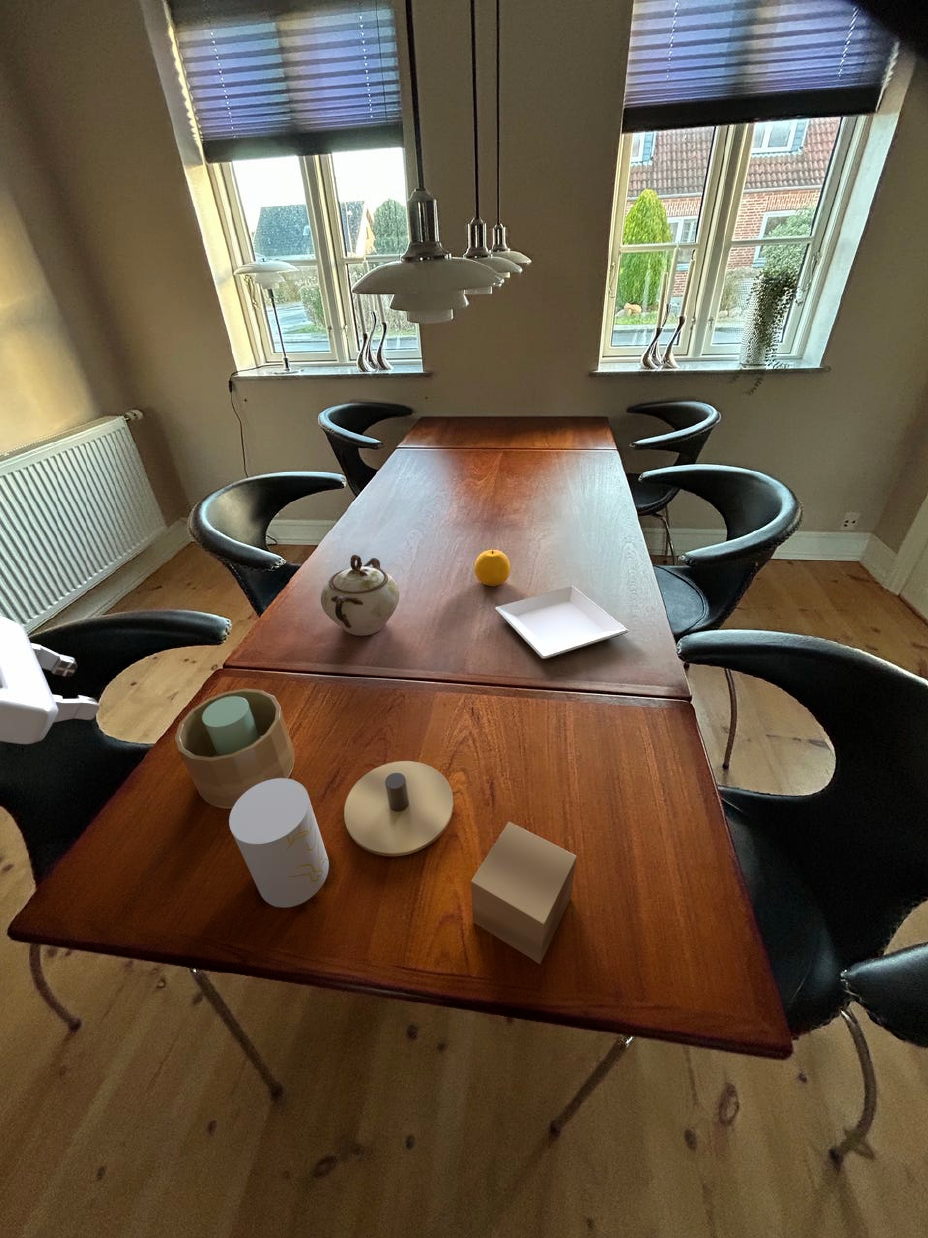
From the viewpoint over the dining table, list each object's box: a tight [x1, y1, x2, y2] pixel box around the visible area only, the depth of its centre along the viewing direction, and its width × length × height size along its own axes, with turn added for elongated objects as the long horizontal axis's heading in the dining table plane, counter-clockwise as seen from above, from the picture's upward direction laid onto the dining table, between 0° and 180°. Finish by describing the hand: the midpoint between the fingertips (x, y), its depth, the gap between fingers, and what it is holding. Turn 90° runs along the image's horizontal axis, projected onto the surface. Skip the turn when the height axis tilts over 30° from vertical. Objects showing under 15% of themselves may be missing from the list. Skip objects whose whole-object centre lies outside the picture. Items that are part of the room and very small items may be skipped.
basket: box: [174, 688, 296, 810], centre depth 73 cm, size 13×13×10 cm
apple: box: [473, 549, 511, 587], centre depth 116 cm, size 8×8×8 cm
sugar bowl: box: [320, 554, 400, 637], centre depth 102 cm, size 20×15×15 cm
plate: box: [494, 585, 630, 660], centre depth 103 cm, size 19×19×2 cm
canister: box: [202, 696, 260, 756], centre depth 73 cm, size 6×6×11 cm
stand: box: [470, 821, 578, 965], centre depth 56 cm, size 8×8×8 cm
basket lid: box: [343, 760, 454, 857], centre depth 68 cm, size 14×14×6 cm
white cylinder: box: [228, 778, 330, 908], centre depth 59 cm, size 8×8×12 cm
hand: (84, 687), depth 56 cm, fingers open, 8 cm apart
